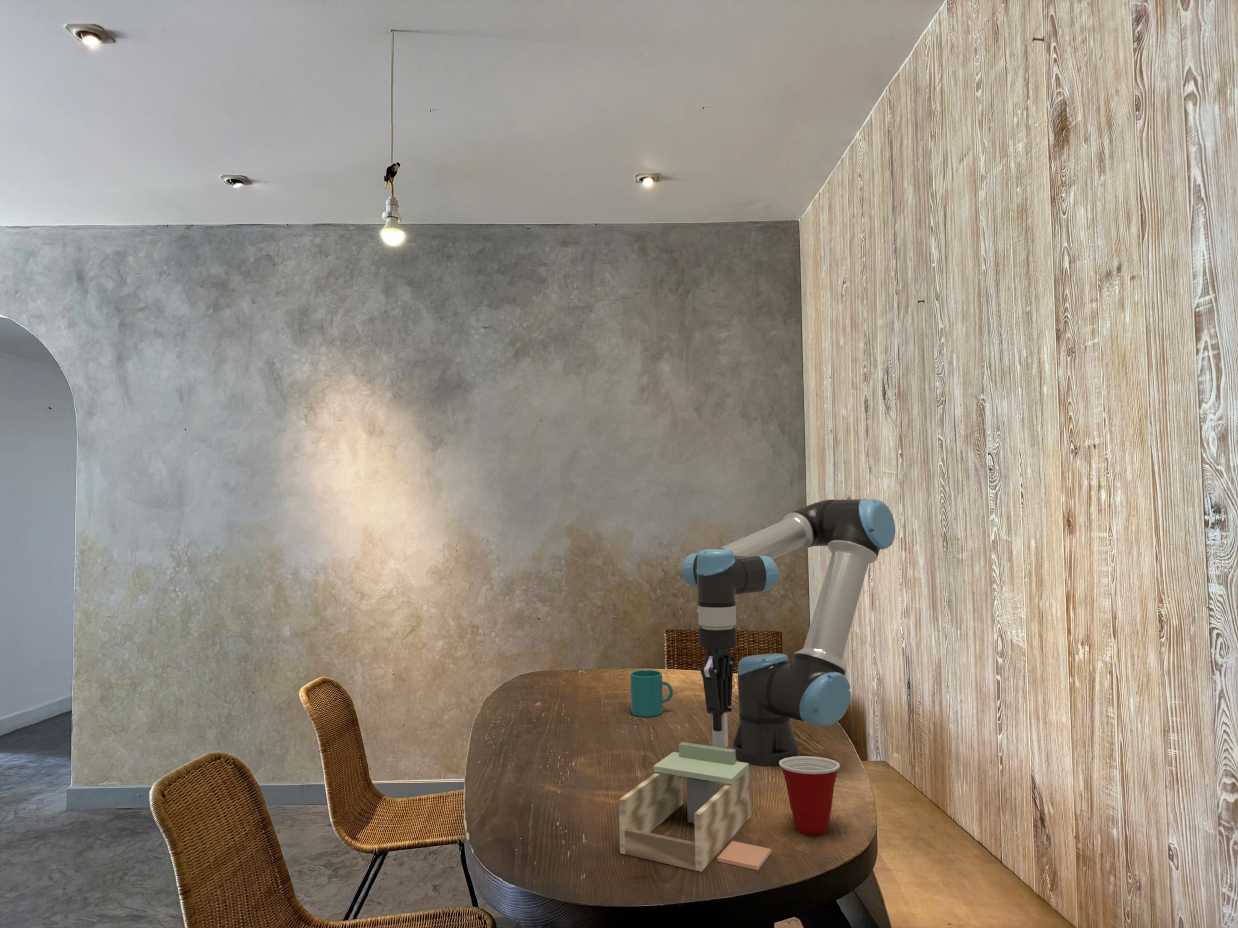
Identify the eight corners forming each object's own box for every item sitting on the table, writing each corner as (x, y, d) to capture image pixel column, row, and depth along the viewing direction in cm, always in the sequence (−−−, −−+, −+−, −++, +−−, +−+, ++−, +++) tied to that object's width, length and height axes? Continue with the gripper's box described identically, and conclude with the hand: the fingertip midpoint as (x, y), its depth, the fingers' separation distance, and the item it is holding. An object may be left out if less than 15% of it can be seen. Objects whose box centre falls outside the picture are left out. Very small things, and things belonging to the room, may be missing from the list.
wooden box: (678, 803, 152) (677, 756, 153) (750, 816, 145) (749, 768, 145) (619, 852, 131) (618, 799, 132) (701, 871, 124) (699, 814, 124)
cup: (674, 717, 213) (673, 676, 213) (631, 717, 213) (630, 677, 213) (672, 708, 222) (671, 669, 222) (631, 709, 222) (630, 669, 222)
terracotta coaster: (732, 844, 133) (732, 840, 134) (771, 852, 130) (771, 848, 130) (717, 861, 127) (717, 857, 127) (757, 870, 124) (757, 866, 124)
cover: (673, 756, 152) (673, 739, 152) (748, 768, 144) (748, 750, 145) (653, 771, 144) (652, 752, 144) (732, 784, 136) (731, 764, 137)
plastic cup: (834, 815, 145) (832, 751, 145) (849, 841, 134) (846, 771, 134) (776, 816, 145) (774, 751, 146) (786, 841, 134) (784, 771, 135)
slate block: (697, 813, 147) (696, 770, 148) (719, 817, 145) (718, 774, 145) (687, 821, 143) (686, 778, 144) (710, 826, 141) (709, 782, 141)
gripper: (711, 620, 162) (714, 734, 160) (686, 630, 150) (689, 752, 149) (745, 622, 158) (749, 739, 157) (722, 632, 147) (726, 758, 145)
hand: (720, 745), depth 153 cm, fingers closed
